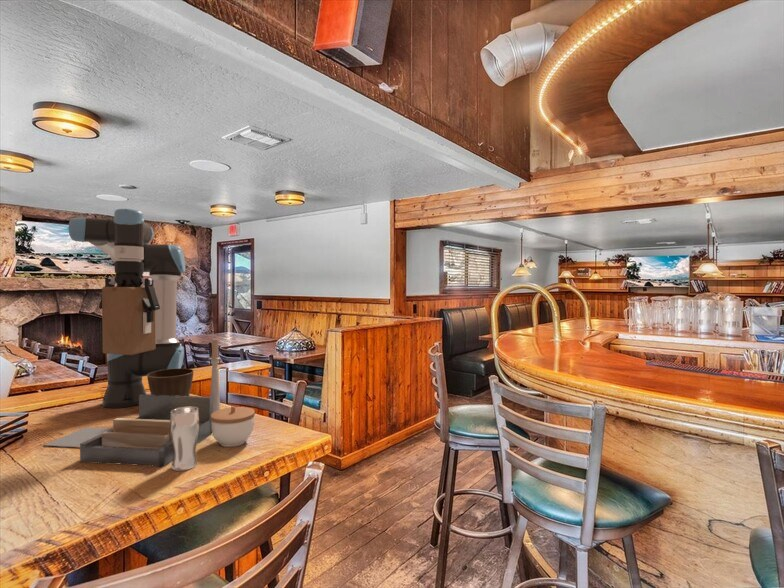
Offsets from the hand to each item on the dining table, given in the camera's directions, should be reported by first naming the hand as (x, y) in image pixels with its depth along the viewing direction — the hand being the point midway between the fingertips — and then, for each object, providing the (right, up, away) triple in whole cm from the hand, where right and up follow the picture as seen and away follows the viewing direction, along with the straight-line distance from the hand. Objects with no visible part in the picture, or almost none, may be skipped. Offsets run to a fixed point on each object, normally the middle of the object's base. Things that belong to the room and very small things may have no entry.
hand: (129, 332), depth 125 cm
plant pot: (0, -33, +23) cm, 40 cm away
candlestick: (+19, -33, +16) cm, 42 cm away
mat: (-14, -33, +2) cm, 36 cm away
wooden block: (0, -6, 0) cm, 6 cm away
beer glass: (+25, -34, -17) cm, 46 cm away
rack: (+9, -33, -4) cm, 35 cm away
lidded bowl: (+32, -34, 0) cm, 47 cm away
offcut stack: (+8, -34, -11) cm, 36 cm away
